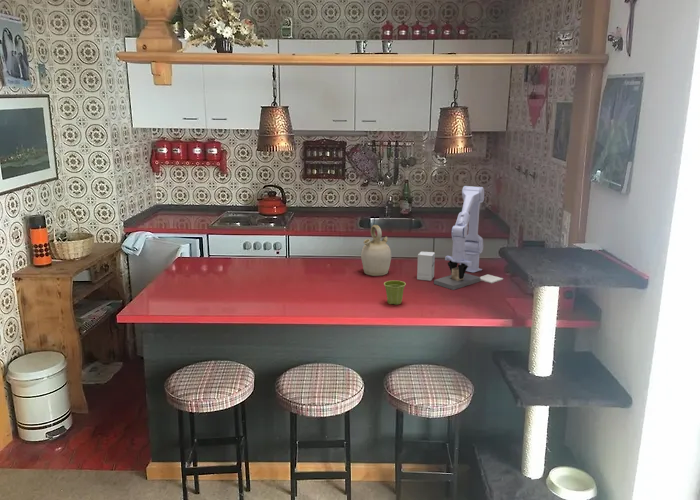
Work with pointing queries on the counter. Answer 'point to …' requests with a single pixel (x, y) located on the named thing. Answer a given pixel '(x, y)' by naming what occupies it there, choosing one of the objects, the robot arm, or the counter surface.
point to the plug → (455, 274)
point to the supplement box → (425, 265)
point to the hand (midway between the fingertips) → (457, 277)
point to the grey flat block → (454, 284)
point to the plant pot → (394, 291)
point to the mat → (490, 278)
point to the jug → (376, 254)
